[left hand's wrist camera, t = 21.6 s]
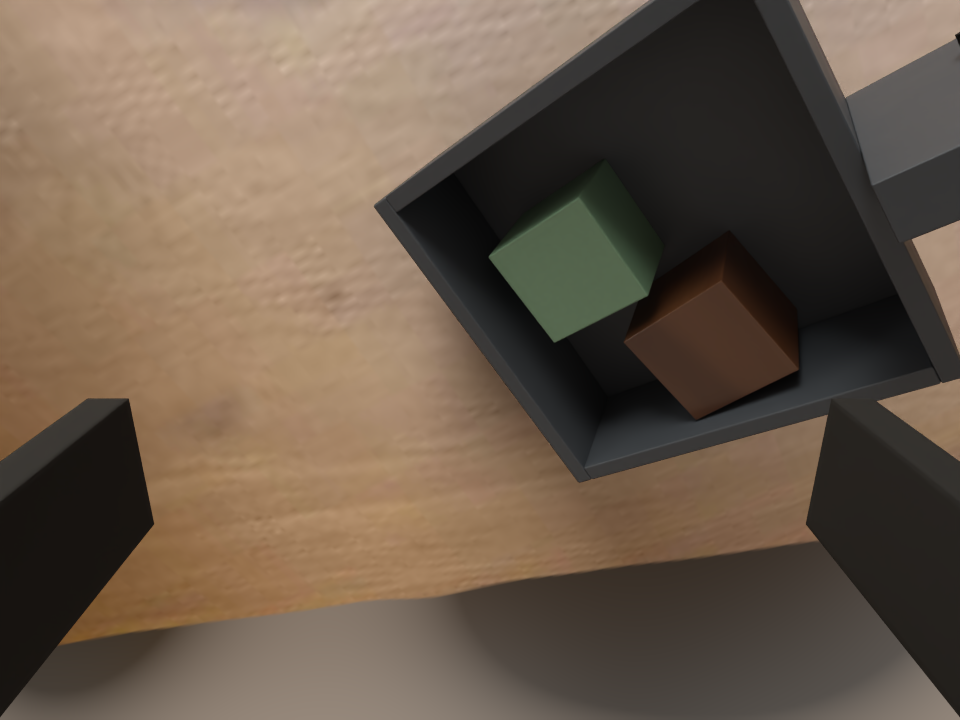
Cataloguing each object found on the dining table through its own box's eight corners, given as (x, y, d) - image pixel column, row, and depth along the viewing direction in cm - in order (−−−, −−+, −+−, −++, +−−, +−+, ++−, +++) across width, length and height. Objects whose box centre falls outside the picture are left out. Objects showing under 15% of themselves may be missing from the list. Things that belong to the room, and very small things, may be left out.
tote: (606, 402, 38) (561, 531, 30) (436, 157, 33) (333, 236, 26) (1268, 171, 23) (1514, 315, 15) (1126, -351, 18) (1381, -530, 10)
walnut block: (695, 420, 30) (799, 369, 26) (622, 342, 29) (721, 280, 25) (706, 360, 33) (797, 309, 30) (641, 289, 32) (729, 229, 29)
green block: (554, 343, 30) (648, 296, 27) (487, 257, 29) (578, 197, 26) (580, 292, 34) (665, 245, 31) (521, 214, 32) (605, 157, 29)
